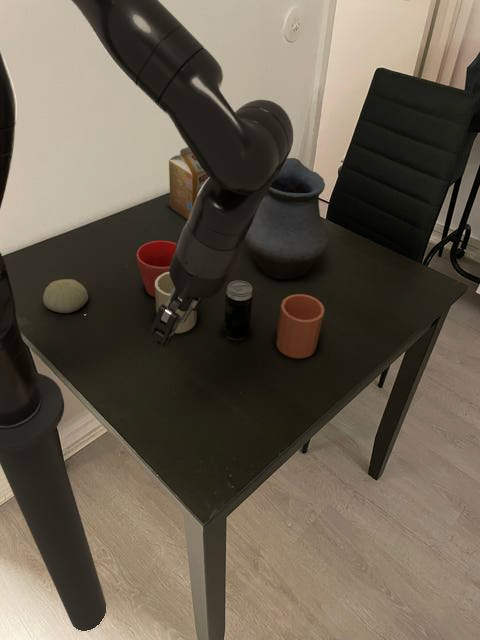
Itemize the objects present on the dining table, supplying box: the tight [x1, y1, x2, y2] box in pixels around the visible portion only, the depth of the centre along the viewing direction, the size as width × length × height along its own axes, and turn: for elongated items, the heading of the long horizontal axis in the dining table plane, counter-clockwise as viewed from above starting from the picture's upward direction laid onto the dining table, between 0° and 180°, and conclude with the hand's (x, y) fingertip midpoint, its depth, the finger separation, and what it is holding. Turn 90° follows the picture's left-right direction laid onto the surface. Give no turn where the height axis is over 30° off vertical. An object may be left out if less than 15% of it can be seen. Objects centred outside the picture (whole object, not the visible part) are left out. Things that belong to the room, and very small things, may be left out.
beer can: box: [223, 280, 254, 341], centre depth 103 cm, size 5×5×12 cm
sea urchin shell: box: [42, 278, 89, 314], centre depth 109 cm, size 9×8×8 cm
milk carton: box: [168, 146, 209, 220], centre depth 139 cm, size 10×11×19 cm
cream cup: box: [155, 272, 198, 334], centre depth 105 cm, size 8×8×10 cm
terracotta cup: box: [275, 293, 325, 359], centre depth 102 cm, size 8×8×10 cm
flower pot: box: [136, 240, 178, 298], centre depth 113 cm, size 11×11×10 cm
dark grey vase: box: [243, 157, 330, 280], centre depth 118 cm, size 21×22×25 cm
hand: (176, 324), depth 76 cm, fingers open, 8 cm apart
